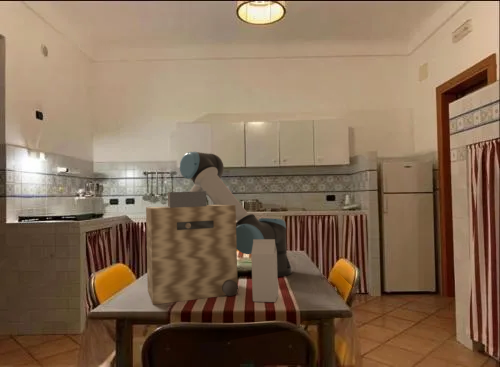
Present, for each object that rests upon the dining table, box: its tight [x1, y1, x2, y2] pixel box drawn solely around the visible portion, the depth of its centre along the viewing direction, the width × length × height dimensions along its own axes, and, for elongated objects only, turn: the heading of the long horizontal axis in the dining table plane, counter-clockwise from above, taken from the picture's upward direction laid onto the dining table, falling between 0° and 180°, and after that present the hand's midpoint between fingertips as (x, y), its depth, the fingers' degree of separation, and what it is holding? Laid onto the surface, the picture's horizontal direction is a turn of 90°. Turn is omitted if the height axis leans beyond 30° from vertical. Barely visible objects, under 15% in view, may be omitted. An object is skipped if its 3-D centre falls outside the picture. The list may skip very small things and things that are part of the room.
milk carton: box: [250, 239, 279, 303], centre depth 118 cm, size 7×7×19 cm
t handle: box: [167, 191, 208, 208], centre depth 134 cm, size 12×30×5 cm, turn 21°
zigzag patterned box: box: [145, 204, 239, 305], centre depth 128 cm, size 28×20×30 cm
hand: (173, 211), depth 151 cm, fingers open, 13 cm apart
